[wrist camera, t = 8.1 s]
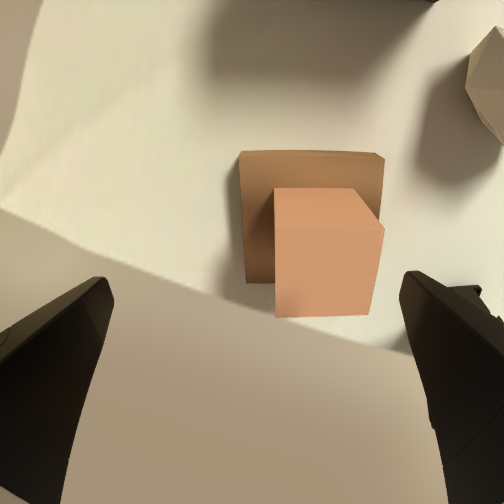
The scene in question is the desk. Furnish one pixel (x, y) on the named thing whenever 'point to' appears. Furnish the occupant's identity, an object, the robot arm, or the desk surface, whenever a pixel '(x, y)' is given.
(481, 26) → the desk surface
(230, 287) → the desk surface
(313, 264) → the terracotta cube
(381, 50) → the desk surface
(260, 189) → the walnut slab
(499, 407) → the robot arm
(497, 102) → the die
